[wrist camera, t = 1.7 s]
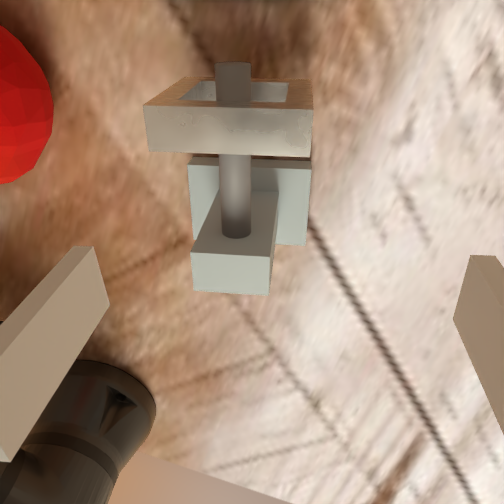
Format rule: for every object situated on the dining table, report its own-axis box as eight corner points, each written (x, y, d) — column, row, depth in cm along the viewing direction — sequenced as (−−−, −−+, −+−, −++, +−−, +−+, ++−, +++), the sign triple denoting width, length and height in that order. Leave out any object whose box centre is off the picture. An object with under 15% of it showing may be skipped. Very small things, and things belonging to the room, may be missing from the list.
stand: (305, 234, 38) (305, 321, 28) (198, 229, 39) (160, 311, 29) (319, 47, 30) (327, 74, 20) (184, 45, 31) (124, 71, 21)
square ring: (187, 112, 31) (148, 151, 23) (184, 76, 30) (142, 105, 22) (308, 116, 30) (309, 157, 23) (311, 79, 29) (313, 109, 21)
